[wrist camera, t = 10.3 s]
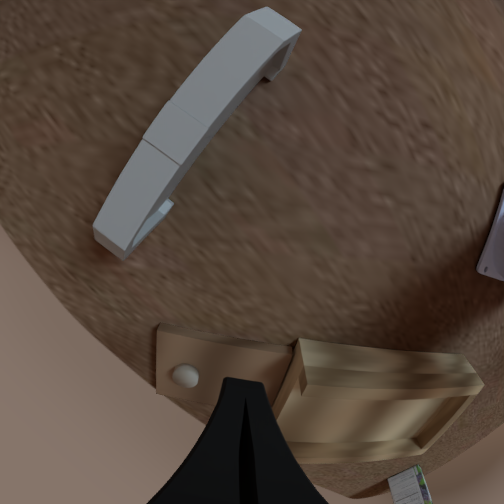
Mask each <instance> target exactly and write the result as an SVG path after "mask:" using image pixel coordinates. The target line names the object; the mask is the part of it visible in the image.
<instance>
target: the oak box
mask: <svg viewBox="0 0 504 504" xmlns="http://www.w3.org/2000/svg"><path fill="white" fill-rule="evenodd" d="M483 386H484V383H483V382H482V380H481V379H480V378H479V376H478V375H477V373H476V372H475V370H474V369H473V368H472V366H471V365H470V363H469V362H468V361H467V359H466V358H465V357H464V355H463V354H449V353H431V352H416V351H403V350H391V349H381V348H371V347H362V346H353V345H345V344H337V343H330V342H322V341H315V340H309V339H302V338H299V339H298V341H297V344H296V346H295V349H294V351H293V356H292V358H291V361H290V363H289V366H288V368H287V371H286V373H285V376H284V378H283V380H282V383H281V385H280V388H279V390H278V392H277V395H276V397H275V400H274V402H273V404H272V406H271V408H272V411H273V413H274V416H275V418H276V421H277V423H278V425H279V428H280V430H281V432H282V434H283V436H284V438H285V440H286V442H287V444H288V446H289V448H290V450H291V452H292V454H293V455H294V457H295V459H296V461H297V462H298V464H335V463H355V462H368V461H378V460H387V459H395V458H402V457H408V456H414V455H420V454H423V453H424V452H425V451H426V450H427V449H428V448H429V447H430V446H431V445H432V444H433V443H434V442H435V441H436V440H437V439H438V438H439V437H440V436H441V435H442V434H443V433H444V432H445V431H446V430H447V429H448V428H449V427H450V426H451V425H452V424H453V423H454V421H455V420H456V419H457V418H458V417H459V416H460V415H461V414H462V412H463V411H464V410H465V409H466V408H467V406H468V405H469V404H470V403H471V402H472V400H473V399H474V398H475V397H476V395H477V394H478V393H479V392H480V390H481V389H482V388H483Z"/></svg>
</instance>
